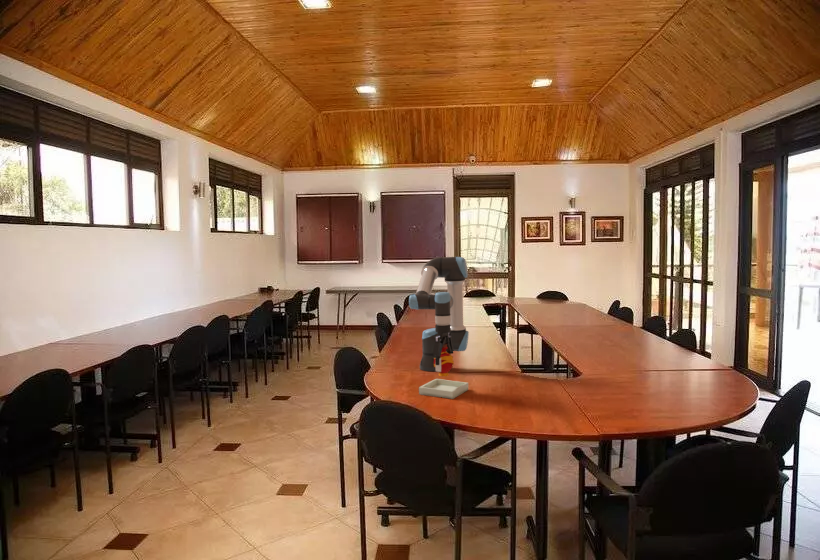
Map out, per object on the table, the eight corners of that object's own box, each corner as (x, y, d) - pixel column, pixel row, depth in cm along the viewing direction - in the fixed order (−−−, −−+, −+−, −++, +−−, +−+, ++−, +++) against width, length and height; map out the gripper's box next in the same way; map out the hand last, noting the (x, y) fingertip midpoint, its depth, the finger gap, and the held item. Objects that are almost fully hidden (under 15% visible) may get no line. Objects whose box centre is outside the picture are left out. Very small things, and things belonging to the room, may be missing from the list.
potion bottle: (437, 378, 256) (436, 347, 255) (430, 373, 266) (429, 343, 265) (457, 376, 259) (457, 345, 258) (450, 371, 269) (450, 342, 268)
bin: (436, 385, 275) (436, 378, 275) (468, 389, 266) (468, 382, 266) (419, 394, 260) (418, 387, 260) (452, 399, 251) (452, 391, 251)
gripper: (446, 320, 273) (447, 363, 274) (424, 326, 253) (425, 373, 254) (460, 321, 269) (460, 365, 270) (439, 327, 249) (439, 375, 250)
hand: (443, 369), depth 262 cm, fingers closed on potion bottle, 10 cm apart
